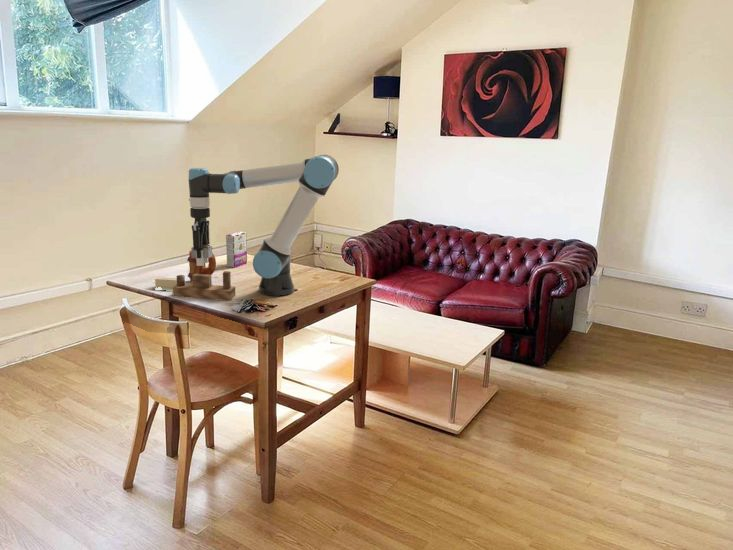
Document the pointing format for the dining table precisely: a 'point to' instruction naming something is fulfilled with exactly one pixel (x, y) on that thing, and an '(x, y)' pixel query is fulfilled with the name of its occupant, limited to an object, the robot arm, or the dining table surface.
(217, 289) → the wooden peg board
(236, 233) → the candy bar box
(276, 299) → the dining table surface
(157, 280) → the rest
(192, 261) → the mug
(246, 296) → the dining table surface
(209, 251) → the lever cap
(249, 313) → the dining table surface
